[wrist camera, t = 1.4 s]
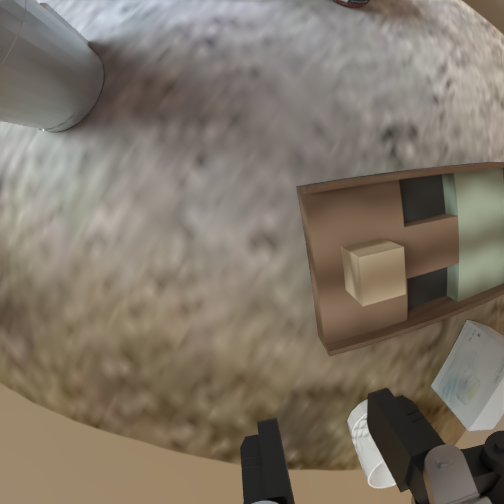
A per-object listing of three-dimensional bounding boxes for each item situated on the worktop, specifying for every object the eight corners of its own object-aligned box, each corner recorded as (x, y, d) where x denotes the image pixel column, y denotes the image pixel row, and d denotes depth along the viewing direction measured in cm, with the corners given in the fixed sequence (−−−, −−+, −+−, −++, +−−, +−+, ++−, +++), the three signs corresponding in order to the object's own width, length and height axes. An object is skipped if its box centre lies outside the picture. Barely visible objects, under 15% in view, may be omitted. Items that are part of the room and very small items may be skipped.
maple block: (340, 246, 26) (358, 257, 22) (381, 237, 26) (403, 246, 22) (345, 289, 27) (362, 306, 23) (384, 279, 27) (405, 294, 23)
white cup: (339, 405, 33) (366, 463, 23) (397, 381, 33) (436, 431, 23) (345, 442, 35) (368, 496, 25) (398, 421, 35) (429, 468, 25)
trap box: (296, 186, 27) (307, 187, 23) (490, 162, 28) (512, 162, 24) (318, 336, 31) (329, 356, 27) (493, 279, 31) (513, 289, 27)
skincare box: (464, 317, 32) (517, 354, 22) (489, 326, 33) (537, 358, 23) (427, 386, 34) (468, 433, 24) (455, 389, 35) (494, 430, 25)
